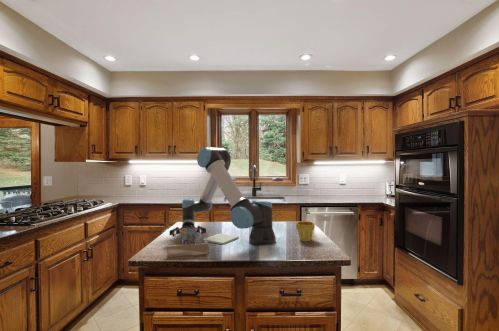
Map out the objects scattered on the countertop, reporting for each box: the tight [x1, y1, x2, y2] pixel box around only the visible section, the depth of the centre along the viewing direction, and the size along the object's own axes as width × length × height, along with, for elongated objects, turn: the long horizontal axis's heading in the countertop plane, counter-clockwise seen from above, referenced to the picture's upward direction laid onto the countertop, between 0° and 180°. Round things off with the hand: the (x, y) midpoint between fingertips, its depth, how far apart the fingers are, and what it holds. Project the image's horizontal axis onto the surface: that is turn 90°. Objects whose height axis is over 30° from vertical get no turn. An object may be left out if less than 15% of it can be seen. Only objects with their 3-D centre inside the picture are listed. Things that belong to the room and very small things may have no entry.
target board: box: [202, 233, 240, 246], centre depth 162 cm, size 15×15×1 cm
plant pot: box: [295, 220, 315, 242], centre depth 159 cm, size 10×10×10 cm
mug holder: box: [167, 241, 210, 258], centre depth 144 cm, size 18×19×5 cm
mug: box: [179, 228, 198, 245], centre depth 144 cm, size 12×9×11 cm
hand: (187, 235), depth 148 cm, fingers open, 13 cm apart
